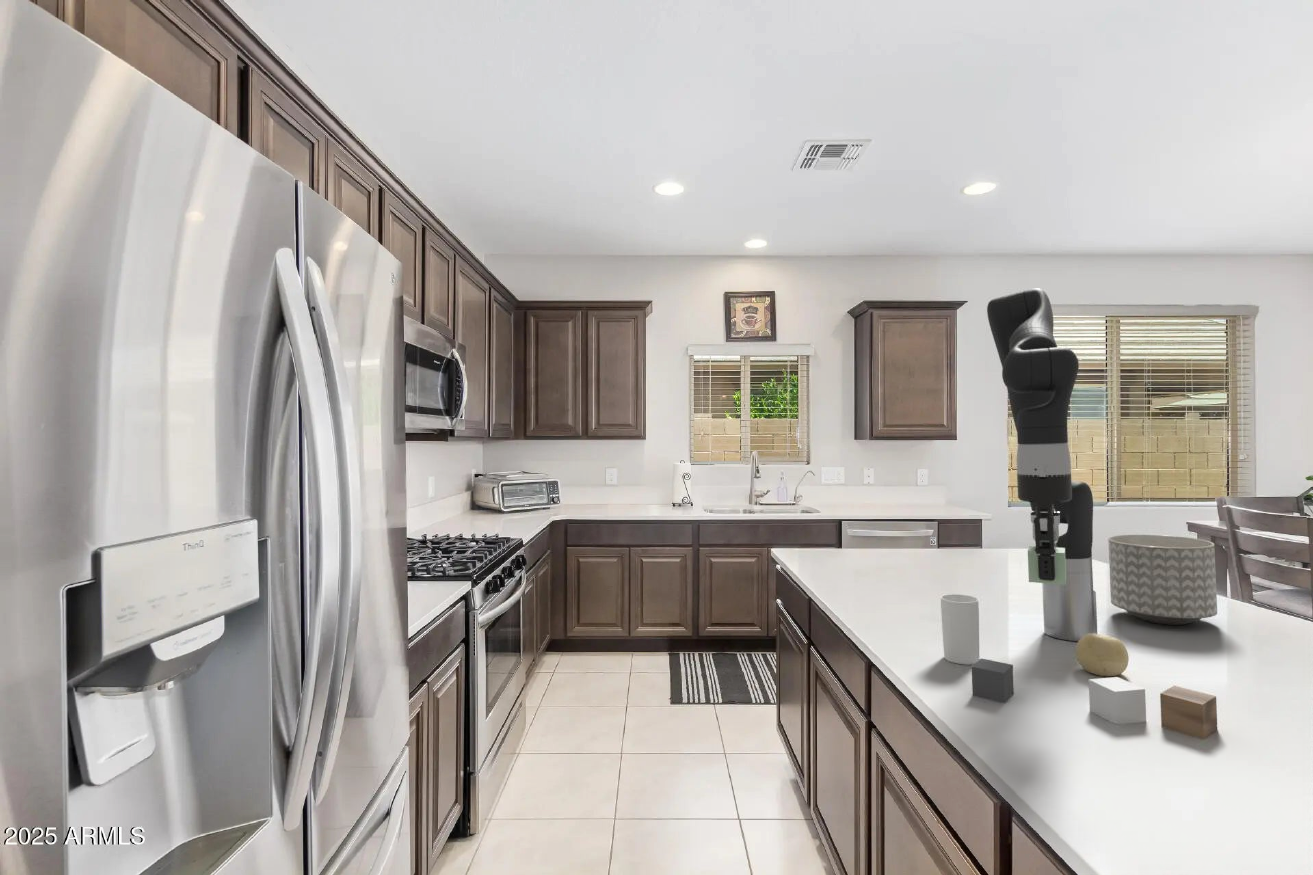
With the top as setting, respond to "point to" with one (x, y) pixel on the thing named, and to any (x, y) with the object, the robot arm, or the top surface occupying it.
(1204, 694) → the walnut block
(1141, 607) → the planter
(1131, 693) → the grey block
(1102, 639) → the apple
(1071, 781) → the top surface
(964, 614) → the mug
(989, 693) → the charcoal block
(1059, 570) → the sage block
